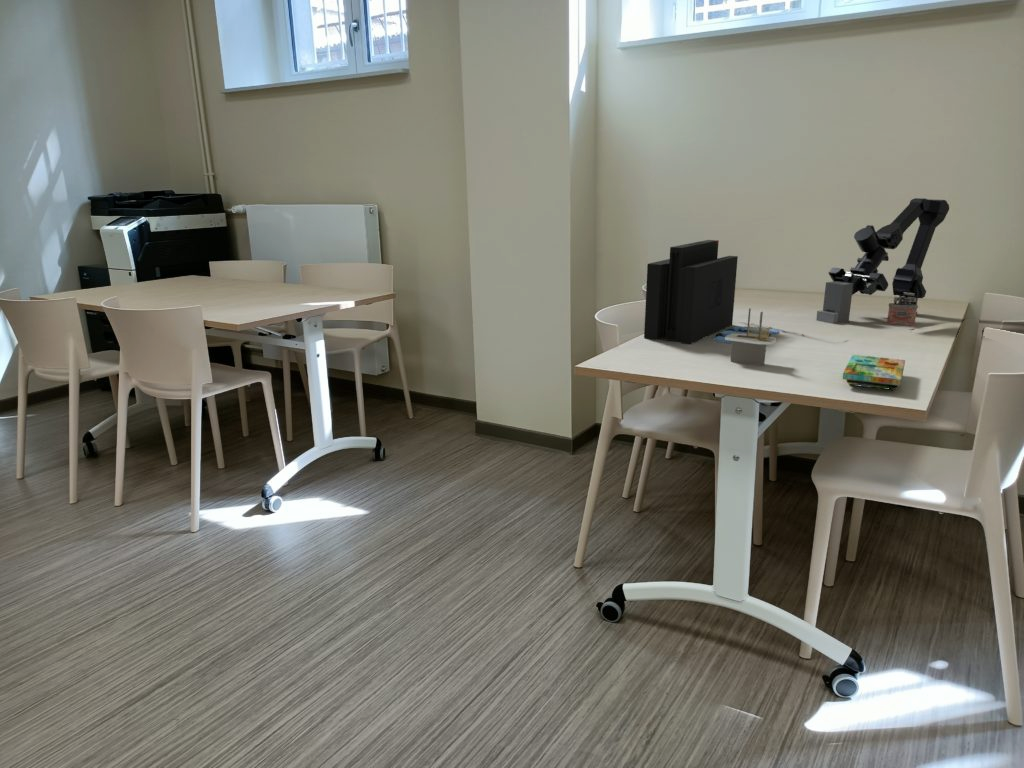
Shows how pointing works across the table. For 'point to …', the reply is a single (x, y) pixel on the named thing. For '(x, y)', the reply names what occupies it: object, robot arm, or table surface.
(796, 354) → the table surface
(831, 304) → the plug
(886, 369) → the puzzle game
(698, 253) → the game console
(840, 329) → the table surface
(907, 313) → the lighter
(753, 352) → the architectural model
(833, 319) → the header
